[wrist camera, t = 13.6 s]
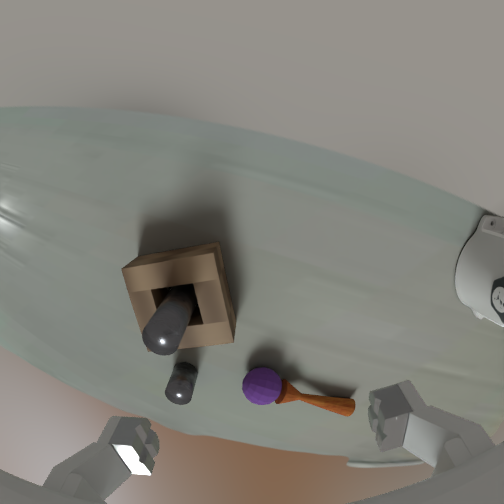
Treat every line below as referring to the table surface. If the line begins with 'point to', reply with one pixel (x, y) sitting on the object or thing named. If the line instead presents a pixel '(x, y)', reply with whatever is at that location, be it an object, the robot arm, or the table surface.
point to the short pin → (181, 383)
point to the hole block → (179, 273)
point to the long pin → (170, 320)
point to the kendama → (288, 392)
